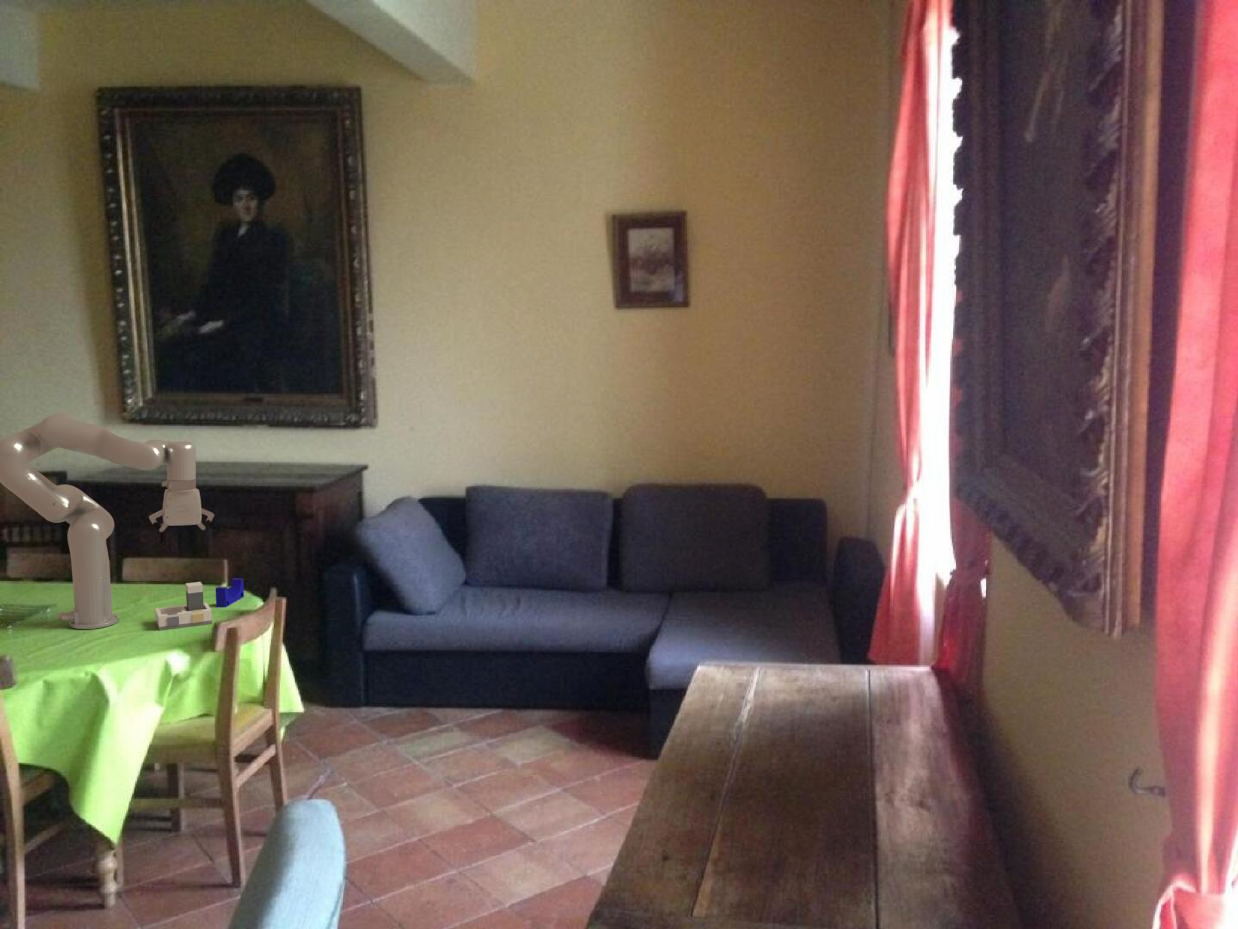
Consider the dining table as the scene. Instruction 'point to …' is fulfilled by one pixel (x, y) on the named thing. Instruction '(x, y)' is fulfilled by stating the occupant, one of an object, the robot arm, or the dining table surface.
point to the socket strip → (182, 617)
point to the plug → (194, 596)
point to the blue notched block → (230, 593)
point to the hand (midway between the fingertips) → (182, 543)
